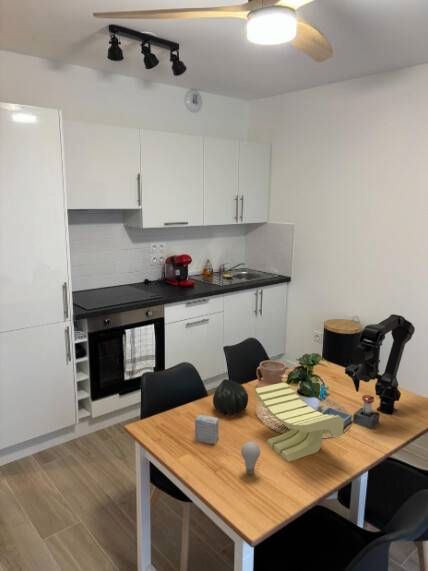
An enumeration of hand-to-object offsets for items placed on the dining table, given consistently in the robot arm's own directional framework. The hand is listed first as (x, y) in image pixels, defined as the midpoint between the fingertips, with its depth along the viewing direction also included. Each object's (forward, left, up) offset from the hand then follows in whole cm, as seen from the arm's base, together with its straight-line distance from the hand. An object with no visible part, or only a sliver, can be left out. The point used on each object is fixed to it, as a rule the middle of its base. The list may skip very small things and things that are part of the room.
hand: (368, 395), depth 169 cm
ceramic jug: (+4, -44, -12) cm, 46 cm away
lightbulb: (+59, -14, -12) cm, 61 cm away
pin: (0, 0, -12) cm, 12 cm away
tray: (+9, -10, -12) cm, 18 cm away
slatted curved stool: (+35, -12, -12) cm, 39 cm away
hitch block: (0, 0, -12) cm, 12 cm away
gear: (-8, -26, -12) cm, 30 cm away
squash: (+31, -46, -12) cm, 57 cm away
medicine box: (+54, -38, -12) cm, 67 cm away
